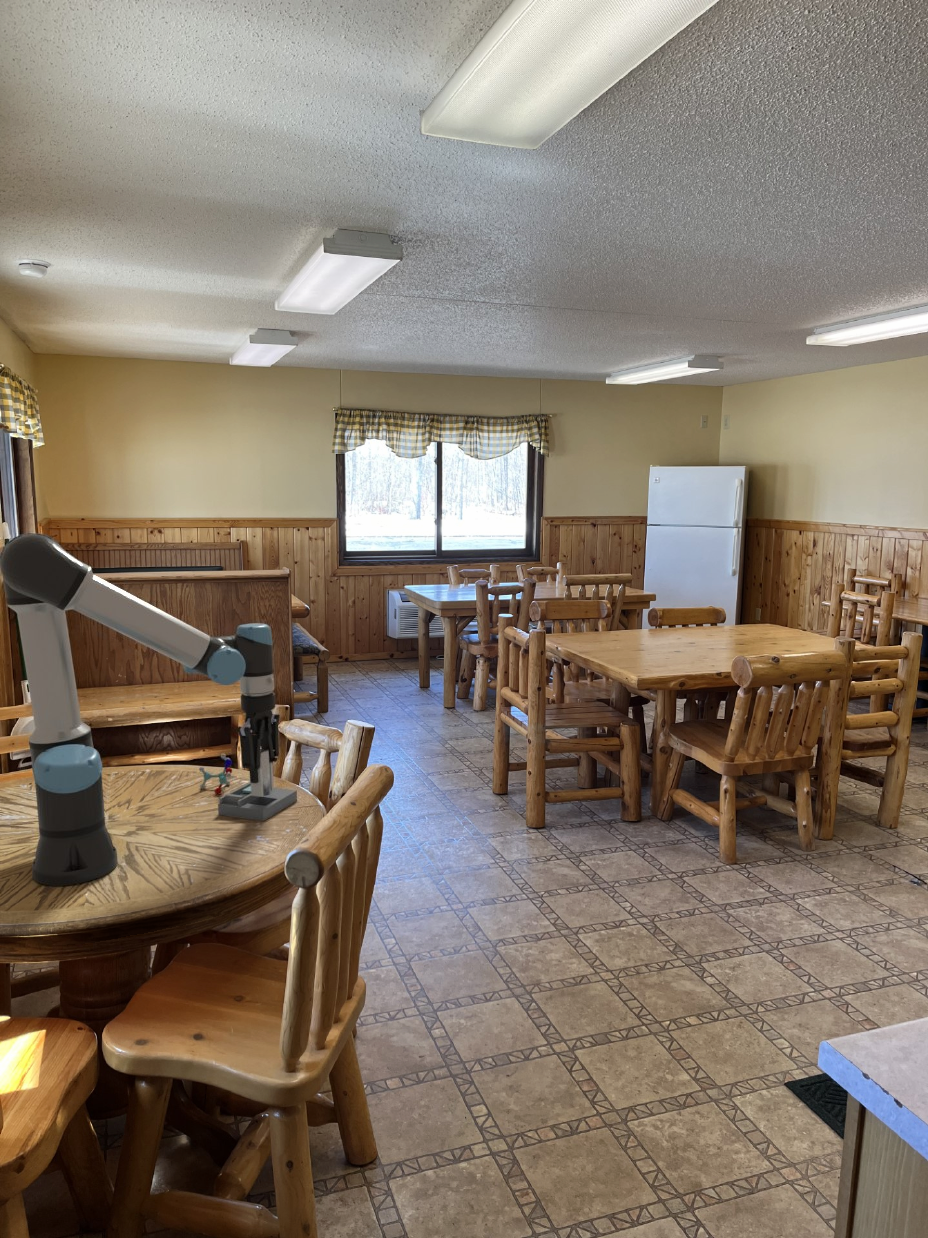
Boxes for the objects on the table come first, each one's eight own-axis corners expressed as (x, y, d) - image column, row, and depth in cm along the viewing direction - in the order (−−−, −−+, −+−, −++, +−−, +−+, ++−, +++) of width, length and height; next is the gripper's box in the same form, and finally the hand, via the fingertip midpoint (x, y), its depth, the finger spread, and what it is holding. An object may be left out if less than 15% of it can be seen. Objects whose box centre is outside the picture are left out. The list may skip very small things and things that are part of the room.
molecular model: (180, 779, 210) (202, 742, 213) (201, 787, 219) (221, 751, 221) (216, 799, 206) (237, 761, 208) (235, 806, 214) (255, 769, 217)
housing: (263, 821, 192) (262, 803, 191) (218, 814, 196) (217, 797, 196) (297, 800, 205) (296, 784, 204) (254, 795, 209) (253, 778, 209)
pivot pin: (264, 797, 195) (262, 754, 194) (251, 795, 196) (249, 752, 195) (273, 791, 198) (271, 749, 197) (260, 790, 200) (258, 748, 198)
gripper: (250, 701, 185) (255, 806, 188) (291, 685, 200) (296, 783, 204) (220, 699, 188) (226, 803, 191) (264, 683, 203) (269, 779, 206)
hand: (262, 792), depth 197 cm, fingers closed on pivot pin, 3 cm apart
